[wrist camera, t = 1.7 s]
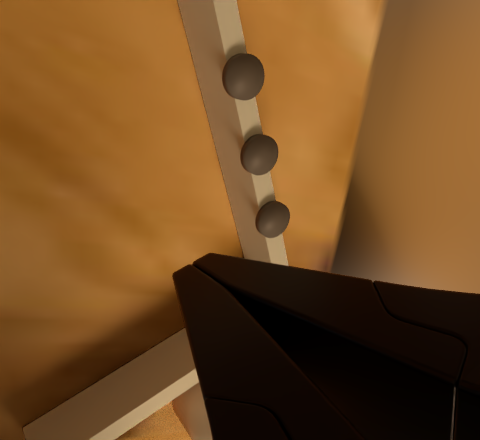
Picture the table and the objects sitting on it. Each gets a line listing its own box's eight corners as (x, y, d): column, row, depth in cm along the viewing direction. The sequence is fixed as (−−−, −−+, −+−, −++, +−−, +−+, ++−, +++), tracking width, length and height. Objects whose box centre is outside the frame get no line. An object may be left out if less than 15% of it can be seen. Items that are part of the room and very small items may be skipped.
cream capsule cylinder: (239, 391, 30) (285, 446, 26) (183, 432, 29) (223, 496, 25) (225, 347, 28) (273, 400, 24) (163, 388, 26) (204, 452, 22)
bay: (272, 287, 28) (307, 314, 26) (31, 439, 22) (45, 494, 20) (180, -119, 17) (225, -143, 15) (-336, -25, 12) (-411, -37, 9)
